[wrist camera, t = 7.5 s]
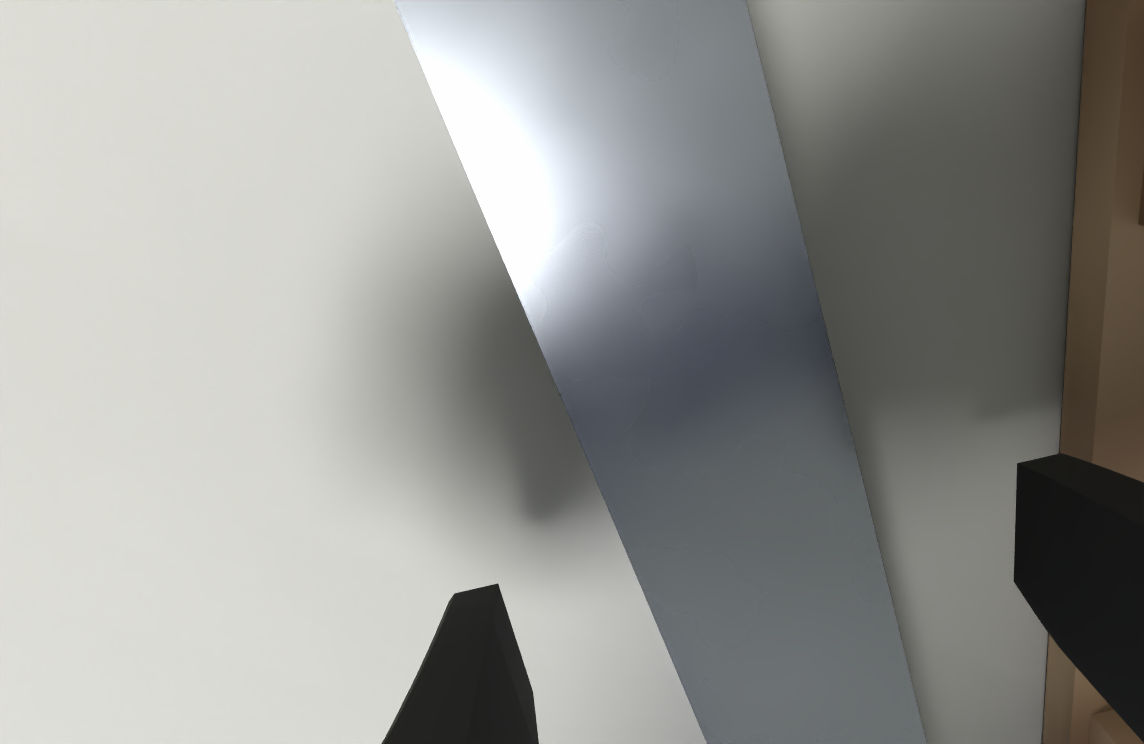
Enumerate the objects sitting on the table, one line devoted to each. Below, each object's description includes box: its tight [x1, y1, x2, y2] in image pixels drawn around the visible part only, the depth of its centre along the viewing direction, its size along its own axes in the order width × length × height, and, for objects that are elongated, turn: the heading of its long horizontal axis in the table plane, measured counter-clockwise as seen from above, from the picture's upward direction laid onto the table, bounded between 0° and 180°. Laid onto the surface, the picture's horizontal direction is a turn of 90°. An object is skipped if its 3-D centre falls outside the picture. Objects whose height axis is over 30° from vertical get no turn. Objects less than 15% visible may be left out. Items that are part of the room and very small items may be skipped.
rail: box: [394, 0, 927, 744], centre depth 12 cm, size 18×3×3 cm, turn 20°
